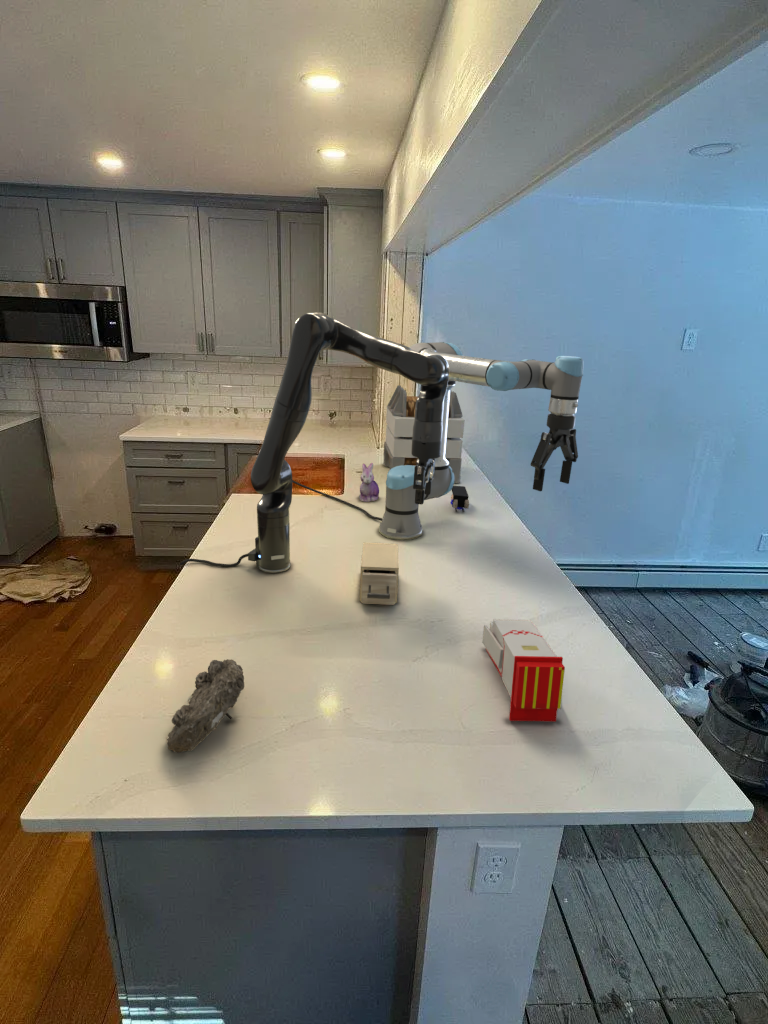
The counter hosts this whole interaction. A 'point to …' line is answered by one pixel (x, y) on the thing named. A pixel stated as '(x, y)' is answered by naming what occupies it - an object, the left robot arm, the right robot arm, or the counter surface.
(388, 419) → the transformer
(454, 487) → the figurine character
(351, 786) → the counter surface
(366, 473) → the figurine
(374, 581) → the drawer
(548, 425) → the right robot arm
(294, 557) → the counter surface
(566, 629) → the counter surface
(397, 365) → the left robot arm
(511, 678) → the toy
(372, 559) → the cabinet
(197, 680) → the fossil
